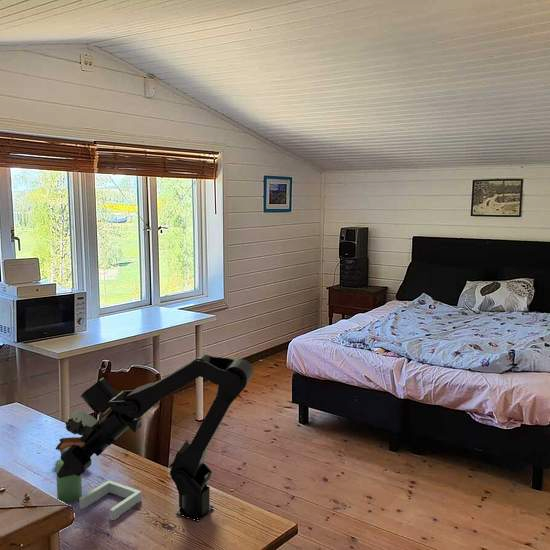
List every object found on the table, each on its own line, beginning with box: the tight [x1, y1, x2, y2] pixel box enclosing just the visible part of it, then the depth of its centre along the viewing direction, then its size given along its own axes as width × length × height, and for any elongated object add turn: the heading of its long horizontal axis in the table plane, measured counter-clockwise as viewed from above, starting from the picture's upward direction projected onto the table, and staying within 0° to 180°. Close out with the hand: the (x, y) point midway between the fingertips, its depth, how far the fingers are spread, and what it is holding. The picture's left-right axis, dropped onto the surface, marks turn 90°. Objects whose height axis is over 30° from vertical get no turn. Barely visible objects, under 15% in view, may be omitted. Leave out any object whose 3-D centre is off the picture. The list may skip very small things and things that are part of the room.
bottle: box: [55, 447, 83, 504], centre depth 134 cm, size 6×6×12 cm
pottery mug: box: [55, 436, 85, 464], centre depth 152 cm, size 12×10×8 cm
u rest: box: [78, 480, 143, 521], centre depth 132 cm, size 10×10×2 cm
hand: (68, 466), depth 134 cm, fingers open, 9 cm apart
